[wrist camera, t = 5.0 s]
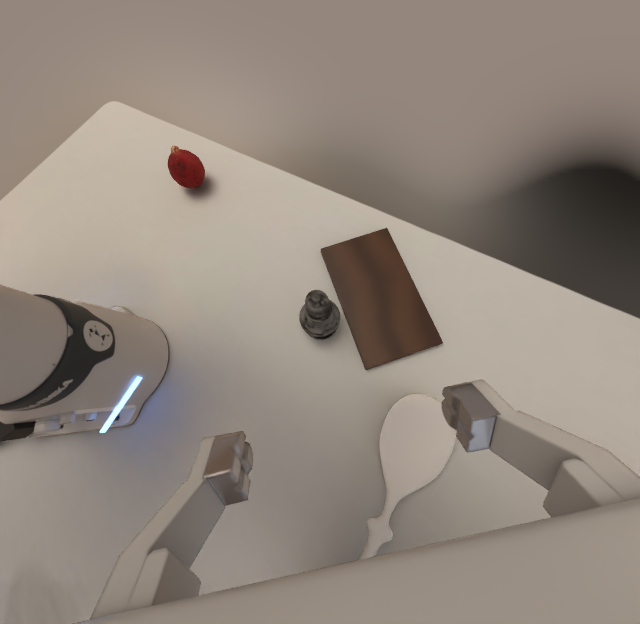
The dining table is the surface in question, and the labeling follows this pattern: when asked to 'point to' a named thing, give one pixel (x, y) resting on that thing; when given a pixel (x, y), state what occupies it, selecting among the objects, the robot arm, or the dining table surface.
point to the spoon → (409, 457)
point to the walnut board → (379, 299)
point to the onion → (185, 168)
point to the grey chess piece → (319, 315)
